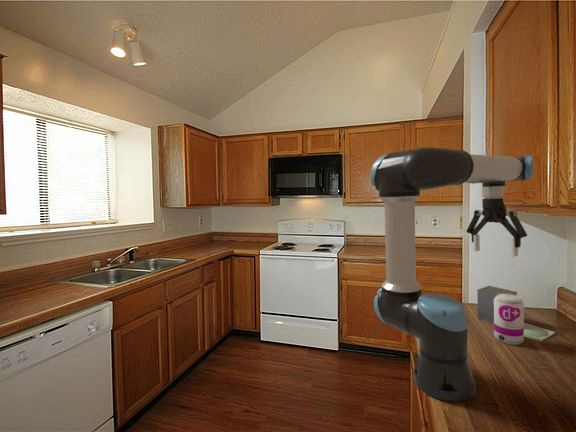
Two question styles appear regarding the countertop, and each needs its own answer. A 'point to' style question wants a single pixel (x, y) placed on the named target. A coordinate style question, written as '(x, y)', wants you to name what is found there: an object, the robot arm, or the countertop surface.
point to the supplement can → (509, 319)
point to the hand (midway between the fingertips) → (494, 253)
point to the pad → (536, 332)
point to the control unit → (489, 301)
